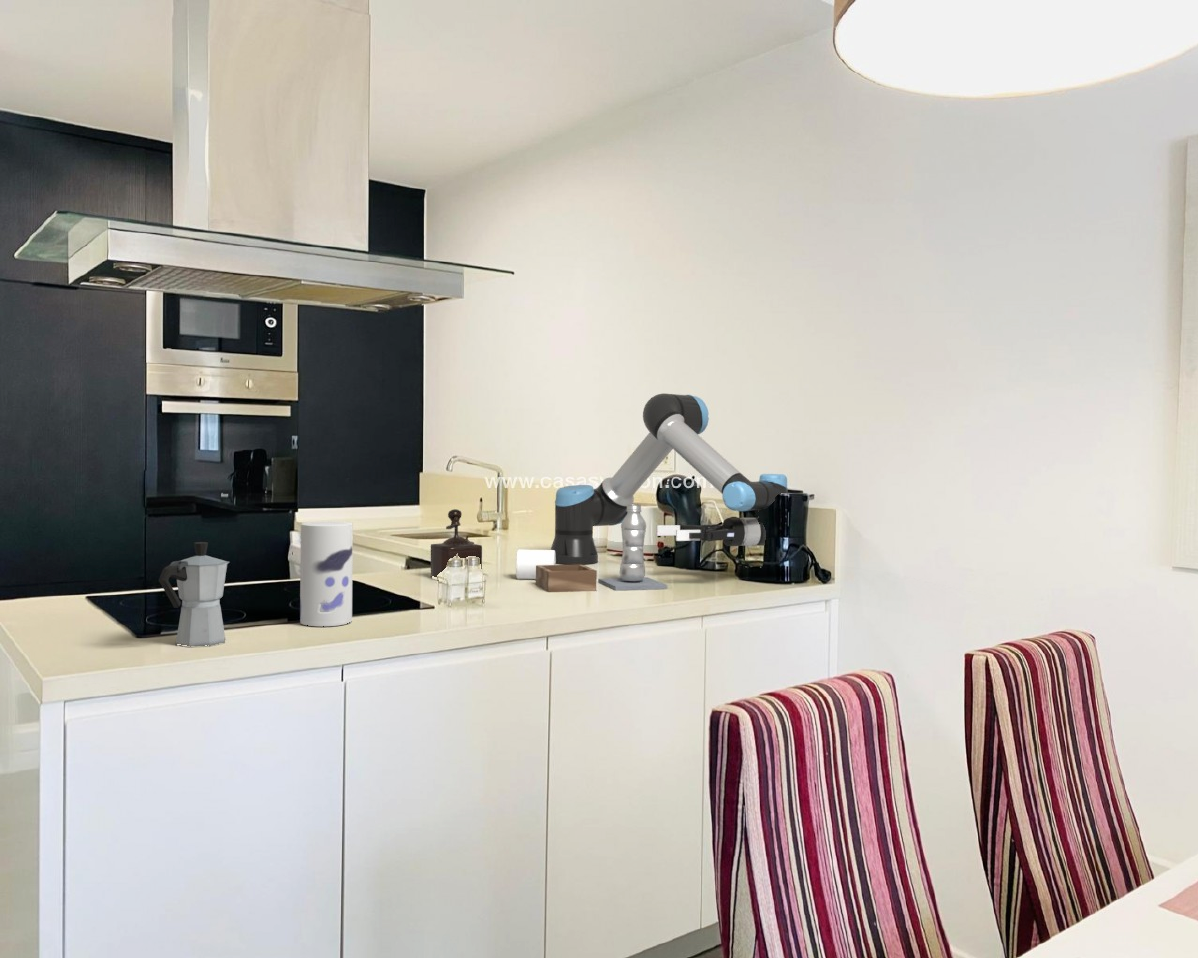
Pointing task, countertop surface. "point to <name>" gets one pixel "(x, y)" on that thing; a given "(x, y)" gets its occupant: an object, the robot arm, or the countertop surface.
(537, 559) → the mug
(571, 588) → the holder
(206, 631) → the coffee maker
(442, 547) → the manual coffee grinder
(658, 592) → the countertop surface
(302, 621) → the container
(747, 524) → the robot arm
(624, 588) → the mat
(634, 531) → the plastic bottle
